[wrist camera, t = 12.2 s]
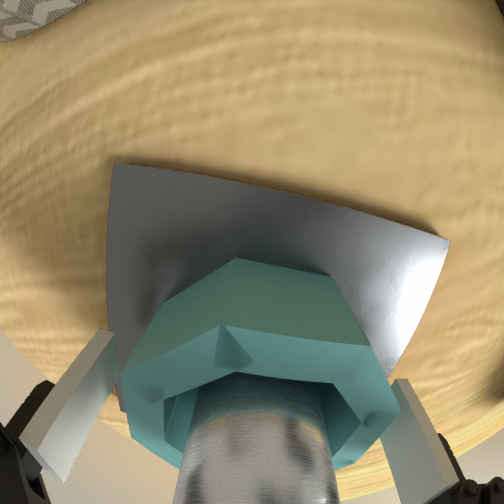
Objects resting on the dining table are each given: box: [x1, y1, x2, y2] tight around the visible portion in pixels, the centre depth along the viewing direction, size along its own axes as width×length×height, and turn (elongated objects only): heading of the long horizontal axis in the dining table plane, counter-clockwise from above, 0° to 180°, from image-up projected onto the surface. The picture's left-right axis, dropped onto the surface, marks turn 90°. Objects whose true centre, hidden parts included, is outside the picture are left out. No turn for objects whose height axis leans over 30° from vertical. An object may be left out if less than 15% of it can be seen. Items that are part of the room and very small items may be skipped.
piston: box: [106, 163, 451, 504], centre depth 9 cm, size 16×16×11 cm
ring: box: [120, 257, 401, 471], centre depth 11 cm, size 10×10×5 cm
